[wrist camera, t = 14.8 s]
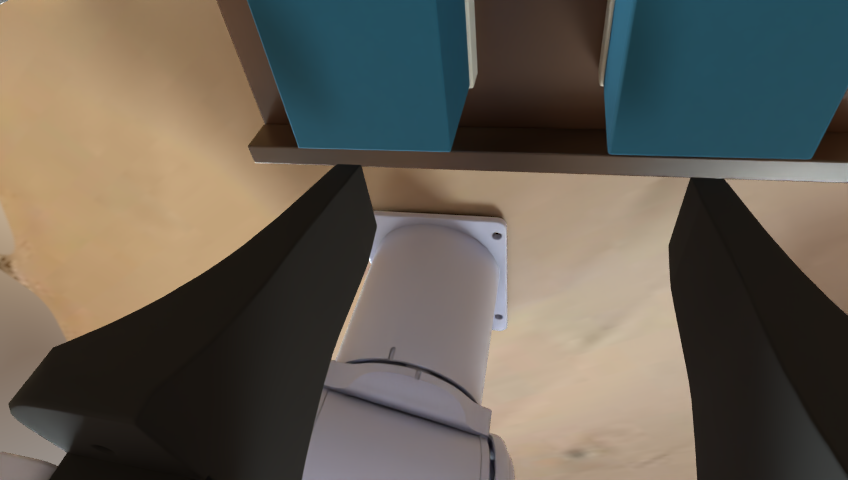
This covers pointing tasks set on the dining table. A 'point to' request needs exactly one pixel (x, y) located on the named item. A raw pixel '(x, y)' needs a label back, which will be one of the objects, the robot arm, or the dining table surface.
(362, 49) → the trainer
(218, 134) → the dining table surface
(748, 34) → the block
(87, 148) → the dining table surface
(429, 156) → the shoe rack
